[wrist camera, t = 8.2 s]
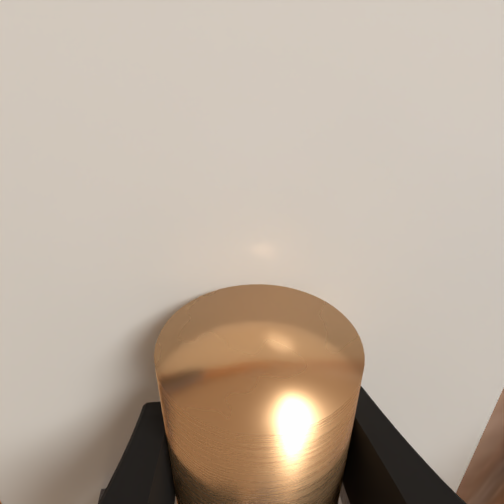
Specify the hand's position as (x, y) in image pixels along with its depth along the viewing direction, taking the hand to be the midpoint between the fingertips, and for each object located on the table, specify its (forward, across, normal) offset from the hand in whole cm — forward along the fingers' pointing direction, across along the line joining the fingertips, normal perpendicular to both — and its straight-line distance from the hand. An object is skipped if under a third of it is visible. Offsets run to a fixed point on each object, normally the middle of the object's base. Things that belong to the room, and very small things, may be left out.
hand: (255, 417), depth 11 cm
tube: (+2, 0, +6) cm, 6 cm away
